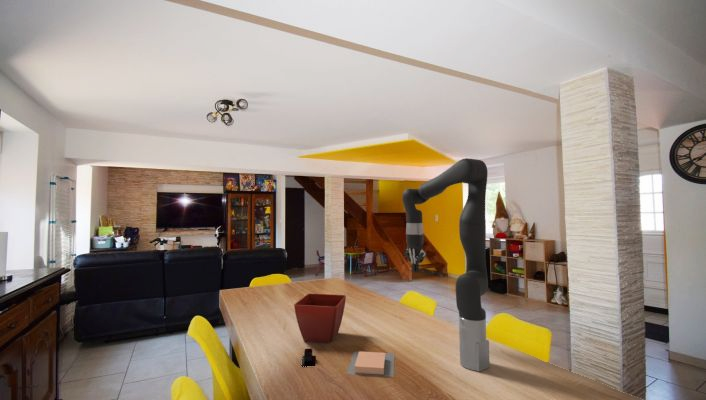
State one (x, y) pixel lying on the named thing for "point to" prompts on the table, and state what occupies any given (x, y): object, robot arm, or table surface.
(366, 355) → the tile
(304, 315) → the plant pot
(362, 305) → the table surface
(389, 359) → the mat
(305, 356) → the black blocky piece
